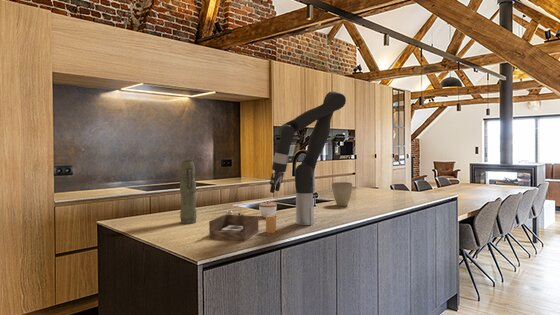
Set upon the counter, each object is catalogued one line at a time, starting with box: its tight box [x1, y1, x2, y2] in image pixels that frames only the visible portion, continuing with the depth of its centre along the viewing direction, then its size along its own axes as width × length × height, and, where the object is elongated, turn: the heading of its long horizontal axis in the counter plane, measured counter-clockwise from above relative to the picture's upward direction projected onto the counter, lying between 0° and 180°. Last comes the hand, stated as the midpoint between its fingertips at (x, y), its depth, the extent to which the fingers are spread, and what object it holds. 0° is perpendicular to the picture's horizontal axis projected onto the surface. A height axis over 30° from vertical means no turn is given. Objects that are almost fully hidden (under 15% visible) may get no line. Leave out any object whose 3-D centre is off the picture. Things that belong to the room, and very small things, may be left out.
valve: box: [225, 210, 244, 215], centre depth 210 cm, size 7×7×12 cm
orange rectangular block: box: [265, 214, 277, 234], centre depth 190 cm, size 4×4×8 cm
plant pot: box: [331, 181, 354, 207], centre depth 270 cm, size 15×15×16 cm
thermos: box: [179, 160, 198, 225], centre depth 213 cm, size 9×12×35 cm
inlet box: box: [208, 213, 259, 242], centre depth 184 cm, size 18×18×8 cm
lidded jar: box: [258, 201, 278, 219], centre depth 229 cm, size 11×11×9 cm
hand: (274, 191), depth 201 cm, fingers open, 8 cm apart
